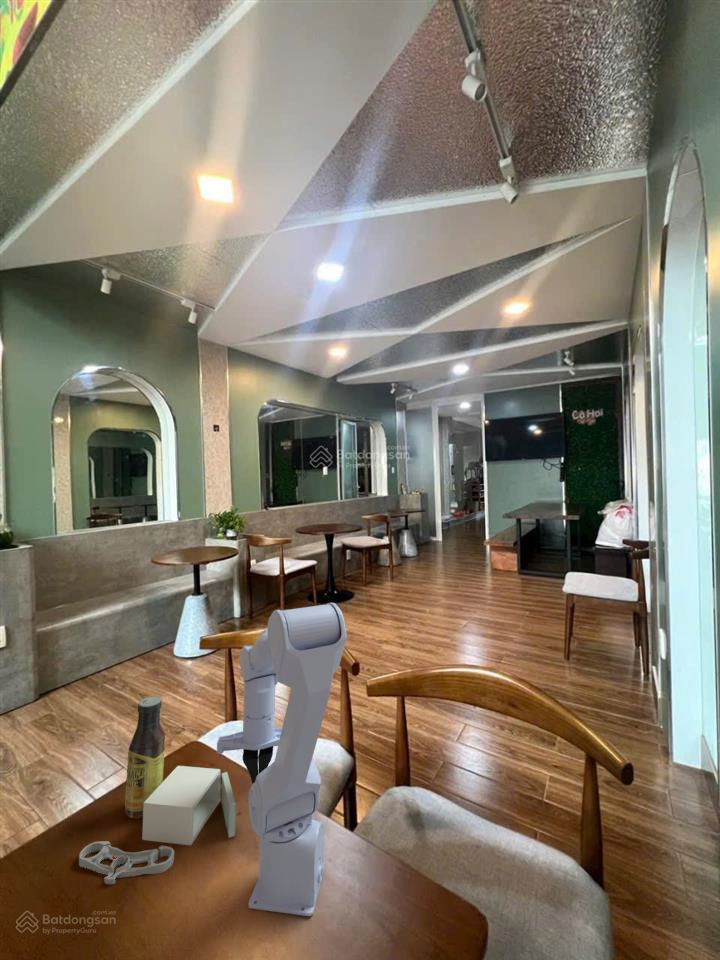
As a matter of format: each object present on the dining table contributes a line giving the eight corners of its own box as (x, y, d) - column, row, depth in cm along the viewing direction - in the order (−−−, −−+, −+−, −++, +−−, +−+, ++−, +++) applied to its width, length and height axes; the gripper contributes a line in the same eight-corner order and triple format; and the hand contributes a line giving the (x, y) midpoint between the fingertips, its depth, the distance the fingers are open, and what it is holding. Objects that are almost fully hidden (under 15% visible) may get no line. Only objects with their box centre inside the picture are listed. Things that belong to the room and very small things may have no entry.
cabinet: (219, 801, 75) (220, 769, 76) (190, 845, 66) (191, 807, 66) (176, 797, 77) (177, 765, 77) (142, 839, 67) (143, 802, 67)
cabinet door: (226, 797, 76) (226, 769, 77) (235, 835, 67) (236, 803, 68) (219, 799, 76) (220, 770, 76) (228, 838, 67) (229, 805, 67)
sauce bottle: (117, 812, 73) (122, 702, 75) (150, 792, 78) (154, 690, 80) (136, 827, 69) (141, 711, 71) (169, 805, 75) (173, 698, 76)
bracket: (114, 823, 69) (179, 848, 63) (114, 834, 69) (178, 860, 63) (70, 858, 62) (137, 889, 56) (69, 871, 62) (137, 904, 56)
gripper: (298, 697, 77) (297, 769, 76) (222, 703, 75) (220, 778, 74) (298, 716, 70) (297, 795, 69) (215, 723, 68) (213, 805, 67)
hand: (257, 788), depth 71 cm, fingers closed
